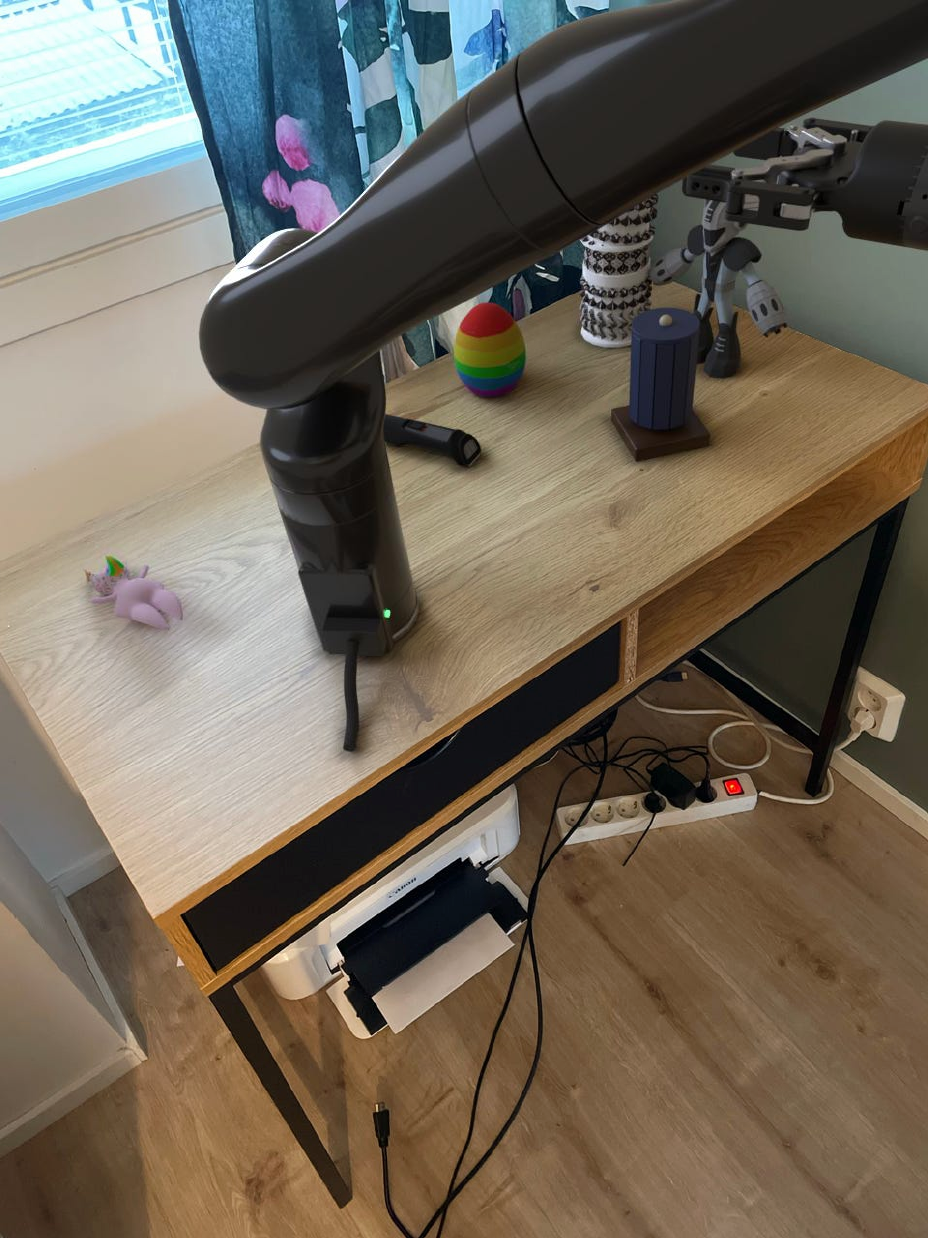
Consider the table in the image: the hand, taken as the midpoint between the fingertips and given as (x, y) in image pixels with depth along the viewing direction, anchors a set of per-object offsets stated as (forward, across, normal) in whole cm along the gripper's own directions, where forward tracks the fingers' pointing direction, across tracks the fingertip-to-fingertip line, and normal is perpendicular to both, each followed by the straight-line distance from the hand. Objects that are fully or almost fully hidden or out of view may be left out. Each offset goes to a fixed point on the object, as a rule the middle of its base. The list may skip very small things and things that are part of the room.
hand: (710, 158), depth 69 cm
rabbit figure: (+34, +43, +30) cm, 62 cm away
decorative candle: (+20, -22, +30) cm, 42 cm away
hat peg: (+5, -5, +30) cm, 31 cm away
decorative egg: (+27, -5, +30) cm, 41 cm away
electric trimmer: (+27, +9, +30) cm, 42 cm away
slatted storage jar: (+5, -5, +27) cm, 28 cm away
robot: (+7, -20, +30) cm, 37 cm away
